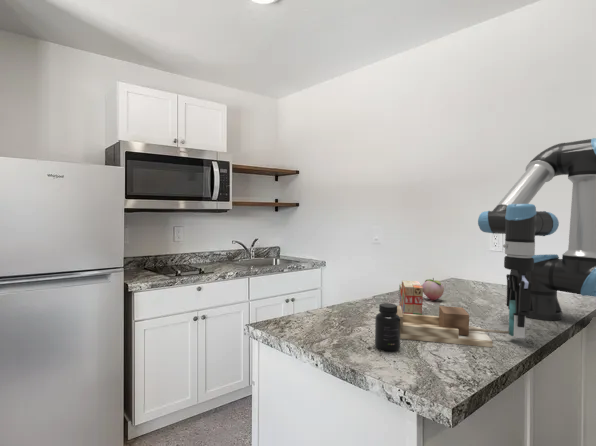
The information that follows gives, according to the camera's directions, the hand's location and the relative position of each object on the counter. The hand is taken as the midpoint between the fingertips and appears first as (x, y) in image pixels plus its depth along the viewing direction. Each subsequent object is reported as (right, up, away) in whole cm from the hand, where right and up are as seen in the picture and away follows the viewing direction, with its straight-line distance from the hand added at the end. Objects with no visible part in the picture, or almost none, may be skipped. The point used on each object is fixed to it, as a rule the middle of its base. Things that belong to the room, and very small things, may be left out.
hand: (516, 334), depth 107 cm
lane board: (-21, -2, +5) cm, 21 cm away
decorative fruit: (-5, -1, +52) cm, 52 cm away
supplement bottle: (-40, -2, -7) cm, 41 cm away
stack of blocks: (-22, -1, +30) cm, 37 cm away
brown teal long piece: (-9, 0, +2) cm, 10 cm away
